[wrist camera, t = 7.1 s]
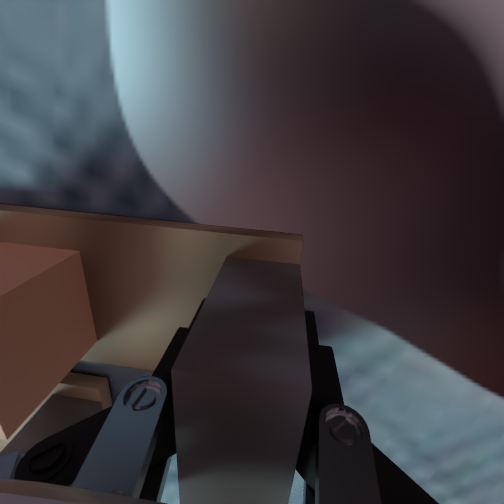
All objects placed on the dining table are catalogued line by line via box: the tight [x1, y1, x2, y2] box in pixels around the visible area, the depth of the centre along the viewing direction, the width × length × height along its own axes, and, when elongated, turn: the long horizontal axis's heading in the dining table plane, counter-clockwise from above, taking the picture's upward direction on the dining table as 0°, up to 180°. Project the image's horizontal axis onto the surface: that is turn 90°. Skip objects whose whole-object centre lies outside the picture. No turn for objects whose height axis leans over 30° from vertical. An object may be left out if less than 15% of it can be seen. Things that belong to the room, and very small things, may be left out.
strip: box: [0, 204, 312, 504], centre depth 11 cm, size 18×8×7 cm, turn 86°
